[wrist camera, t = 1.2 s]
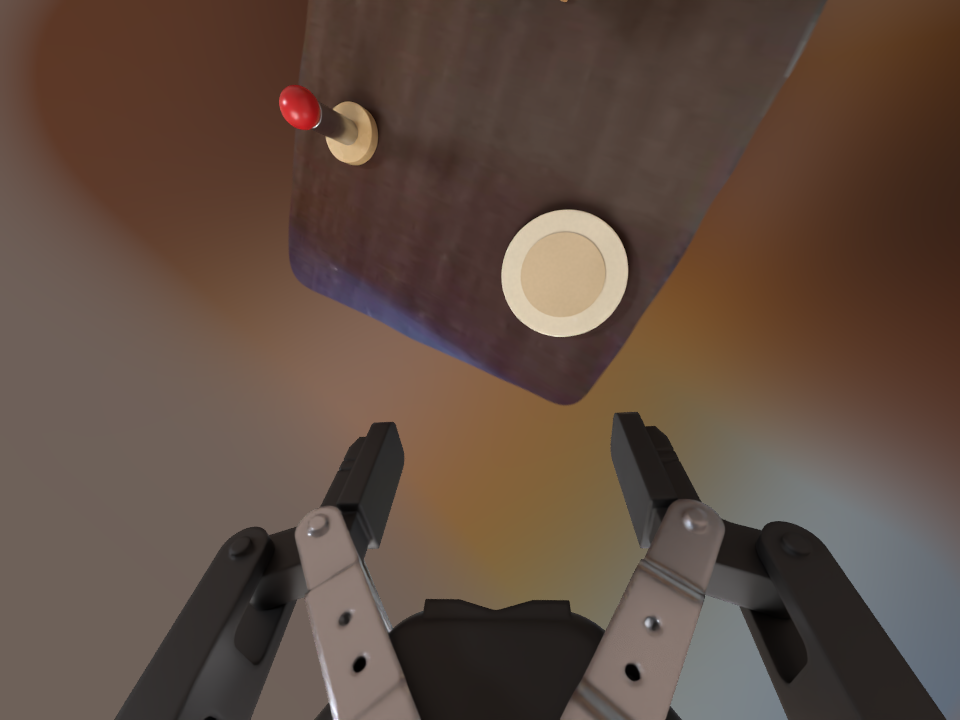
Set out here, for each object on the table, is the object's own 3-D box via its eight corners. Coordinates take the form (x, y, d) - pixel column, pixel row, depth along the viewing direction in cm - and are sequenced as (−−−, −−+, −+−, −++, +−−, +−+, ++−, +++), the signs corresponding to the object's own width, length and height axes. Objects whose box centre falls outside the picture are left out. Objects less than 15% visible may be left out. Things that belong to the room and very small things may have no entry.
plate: (512, 204, 36) (510, 202, 35) (642, 217, 33) (643, 216, 32) (495, 323, 40) (493, 325, 39) (611, 345, 37) (611, 347, 36)
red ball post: (333, 104, 39) (256, 59, 30) (379, 106, 37) (314, 60, 29) (332, 163, 40) (260, 137, 32) (377, 167, 39) (314, 140, 30)
